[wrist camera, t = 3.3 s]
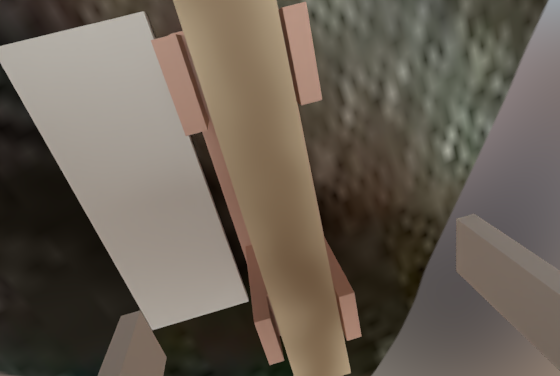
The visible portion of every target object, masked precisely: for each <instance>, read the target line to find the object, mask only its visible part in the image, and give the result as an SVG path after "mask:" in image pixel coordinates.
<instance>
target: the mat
mask: <svg viewBox="0 0 560 376" xmlns="http://www.w3.org/2000/svg"><path fill="white" fill-rule="evenodd" d="M154 39H155V36H154V34H153V31H152V28H151V25H150V22H149V20H148V17H147V14H146V12H144V11H143V12H139V13H135V14H131V15H126V16H122V17H118V18H114V19H110V20H106V21H102V22H98V23H94V24H89V25H85V26H81V27H77V28H73V29H69V30H65V31H61V32H56V33H52V34H48V35H44V36H40V37H36V38H32V39H28V40H24V41H19V42H15V43H11V44H7V45H3V46H0V63H1V65H2V67H3V68H4V70H5V72H6V74H7V75H8V77H9V79H10V81H11V83H12V84H13V86H14V88H15V90H16V91H17V93H18V95H19V97H20V98H21V100H22V102H23V104H24V105H25V107H26V109H27V111H28V112H29V114H30V116H31V118H32V119H33V121H34V123H35V125H36V126H37V128H38V130H39V132H40V133H41V135H42V137H43V139H44V141H45V142H46V144H47V146H48V148H49V149H50V151H51V153H52V155H53V156H54V158H55V160H56V162H57V163H58V165H59V167H60V169H61V170H62V172H63V174H64V176H65V177H66V179H67V181H68V183H69V184H70V186H71V188H72V190H73V192H74V193H75V195H76V197H77V199H78V200H79V202H80V204H81V206H82V207H83V209H84V211H85V213H86V214H87V216H88V218H89V220H90V221H91V223H92V225H93V227H94V228H95V230H96V232H97V234H98V235H99V237H100V239H101V241H102V242H103V244H104V246H105V248H106V250H107V251H108V253H109V255H110V257H111V258H112V260H113V262H114V264H115V265H116V267H117V269H118V271H119V272H120V274H121V276H122V278H123V279H124V281H125V283H126V285H127V286H128V288H129V290H130V292H131V293H132V295H133V297H134V299H135V300H136V302H137V304H138V306H139V308H140V309H141V311H142V313H143V315H144V316H145V318H146V320H147V322H148V323H149V325H150V327H151V329H152V330H155V329H158V328H161V327H165V326H168V325H171V324H175V323H178V322H181V321H185V320H188V319H192V318H195V317H198V316H202V315H205V314H208V313H212V312H215V311H218V310H222V309H225V308H228V307H232V306H235V305H238V304H242V303H245V302H248V301H249V299H248V295H247V292H246V289H245V286H244V284H243V281H242V278H241V275H240V273H239V270H238V267H237V264H236V261H235V259H234V256H233V253H232V250H231V248H230V245H229V242H228V239H227V236H226V234H225V231H224V228H223V225H222V223H221V220H220V217H219V214H218V211H217V209H216V206H215V203H214V200H213V198H212V195H211V192H210V189H209V186H208V184H207V181H206V178H205V175H204V173H203V170H202V167H201V164H200V161H199V159H198V156H197V153H196V150H195V147H194V145H193V142H192V139H191V136H190V135H188V136H186V135H185V133H184V130H183V127H182V124H181V122H180V119H179V116H178V114H177V111H176V108H175V105H174V103H173V100H172V97H171V94H170V92H169V89H168V86H167V83H166V81H165V78H164V75H163V73H162V70H161V67H160V64H159V62H158V59H157V56H156V53H155V51H154V48H153V45H152V43H151V40H154Z"/></svg>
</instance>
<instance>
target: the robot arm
mask: <svg viewBox="0 0 560 376" xmlns="http://www.w3.org/2000/svg"><path fill="white" fill-rule="evenodd" d="M456 220H457V221H456V271H457V272H458V273H459V274H460V275H461V276H462V277H463V278H464V279H465V280H466V281H467V282H468V283H469V284H470V285H471V286H472V287H473V288H474V289H475V290H476V291H477V292H478V293H480V294H481V295H482V296H483V297H484V298H485V299H486V300H487V301H488V302H489V303H490V304H491V305H492V306H493V307H494V308H495V309H496V310H497V311H498V312H499V313H500V314H501V315H502V316H503V317H504V318H505V319H506V320H508V321H509V322H510V323H511V324H512V325H513V326H514V327H515V328H516V329H517V330H518V331H519V332H520V333H521V334H522V335H523V336H524V337H525V338H526V339H527V340H528V341H529V342H530V343H531V344H532V345H534V346H535V347H536V348H537V349H538V350H539V351H540V352H541V353H542V354H543V355H544V356H545V357H546V358H547V359H548V360H549V361H550V362H551V363H552V364H553V365H554V366H555V367H557V369H558V370H560V271H559V270H558V269H556V268H555V267H553V266H552V265H550V264H549V263H547V262H546V261H544V260H543V259H541V258H540V257H538V256H537V255H535V254H534V253H532V252H531V251H529V250H527V249H526V248H525V247H523V246H522V245H520V244H519V243H517V242H516V241H514V240H513V239H511V238H510V237H508V236H507V235H505V234H504V233H502V232H501V231H499V230H498V229H496V228H495V227H493V226H492V225H490V224H489V223H487V222H486V221H484V220H483V219H481V218H480V217H478V216H477V215H475V214H471V215H468V216H465V217H461V218H457V219H456ZM166 358H167V357H166V355H165V354H164V352H163V350H162V348H161V346H160V345H159V343H158V341H157V339H156V338H155V336H154V334H153V332H152V330H151V329H150V327H149V325H148V323H147V321H146V320H145V318H144V316H143V314H142V312H141V311H137V312H133V313H130V314H126V315H123V316H121V317H120V320H119V322H118V325H117V327H116V330H115V333H114V335H113V338H112V340H111V343H110V345H109V348H108V351H107V353H106V356H105V358H104V361H103V363H102V366H101V369H100V371H99V374H98V376H163V374H164V368H165V363H166Z"/></svg>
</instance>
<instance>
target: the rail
mask: <svg viewBox="0 0 560 376" xmlns="http://www.w3.org/2000/svg"><path fill="white" fill-rule="evenodd" d="M173 2H174V5H175V8H176V11H177V14H178V17H179V20H180V23H181V26H182V30H183V33H184V36H185V39H186V42H187V45H188V48H189V51H190V54H191V57H192V61H193V64H194V67H195V70H196V73H197V76H198V79H199V82H200V85H201V88H202V92H203V95H204V98H205V101H206V104H207V107H208V110H209V113H210V116H211V119H212V123H213V126H214V129H215V132H216V135H217V138H218V141H219V144H220V147H221V151H222V154H223V157H224V160H225V163H226V166H227V169H228V172H229V175H230V178H231V182H232V185H233V188H234V191H235V194H236V197H237V200H238V203H239V206H240V209H241V213H242V216H243V219H244V222H245V225H246V228H247V231H248V234H249V237H250V240H251V244H252V247H253V250H254V253H255V256H256V259H257V262H258V265H259V268H260V271H261V275H262V278H263V281H264V284H265V287H266V290H267V293H268V296H269V299H270V302H271V306H272V309H273V312H274V315H275V318H276V321H277V324H278V327H279V330H280V333H281V337H282V340H283V343H284V346H285V349H286V352H287V355H288V358H289V361H290V364H291V368H292V371H293V374H294V376H343V375H346V374H349V373H351V371H350V366H349V361H348V356H347V351H346V346H345V341H344V336H343V331H342V326H341V321H340V316H339V311H338V306H337V301H336V296H335V291H334V286H333V281H332V276H331V271H330V266H329V261H328V256H327V251H326V246H325V241H324V236H323V231H322V226H321V221H320V216H319V211H318V206H317V201H316V196H315V191H314V186H313V181H312V176H311V171H310V166H309V161H308V156H307V151H306V146H305V141H304V136H303V131H302V126H301V121H300V116H299V111H298V106H297V101H296V96H295V91H294V86H293V81H292V76H291V71H290V66H289V61H288V56H287V51H286V46H285V41H284V36H283V31H282V26H281V21H280V16H279V11H278V6H277V1H276V0H173Z"/></svg>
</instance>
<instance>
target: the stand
mask: <svg viewBox="0 0 560 376" xmlns="http://www.w3.org/2000/svg"><path fill="white" fill-rule="evenodd" d="M278 11H279V16H280V21H281V26H282V31H283V36H284V41H285V46H286V51H287V56H288V61H289V66H290V71H291V76H292V81H293V86H294V91H295V96H296V101H297V102H298V103H299V104H300V105H304V104H308V103H312V102H316V101H319V100H322V95H321V89H320V83H319V77H318V71H317V65H316V58H315V52H314V46H313V40H312V34H311V28H310V22H309V16H308V10H307V4H306V2H303V3H299V4H295V5H291V6H286V7H282V8H281V9H278ZM151 43H152V45H153V48H154V51H155V53H156V56H157V59H158V62H159V64H160V67H161V70H162V73H163V75H164V78H165V81H166V83H167V86H168V89H169V92H170V94H171V97H172V100H173V103H174V105H175V108H176V111H177V114H178V116H179V119H180V122H181V124H182V127H183V130H184V133H185V135H186V136H188V135H192V134H196V133H199V132H202V133H203V136H204V139H205V142H206V145H207V148H208V150H209V153H210V156H211V159H212V162H213V165H214V168H215V171H216V174H217V177H218V180H219V183H220V186H221V189H222V192H223V194H224V197H225V200H226V203H227V206H228V209H229V212H230V215H231V218H232V221H233V224H234V227H235V230H236V233H237V235H238V238H239V241H240V244H241V247H242V250H243V253H244V256H245V259H246V262H247V267H248V275H249V283H250V292H251V300H252V309H253V317H254V324H255V326H256V329H257V332H258V335H259V337H260V340H261V343H262V346H263V348H264V351H265V354H266V356H267V359H268V362H269V365H271V364H275V363H278V362H281V361H284V357H283V352H282V347H281V342H280V337H279V336H281V333H280V330H279V327H278V324H277V321H276V318H275V315H274V312H273V309H272V306H271V302H270V299H269V296H268V293H267V290H266V287H265V284H264V281H263V278H262V275H261V271H260V268H259V265H258V262H257V259H256V256H255V253H254V250H253V247H252V244H251V240H250V237H249V234H248V231H247V228H246V225H245V222H244V219H243V216H242V213H241V209H240V206H239V203H238V200H237V197H236V194H235V191H234V188H233V185H232V182H231V178H230V175H229V172H228V169H227V166H226V163H225V160H224V157H223V154H222V151H221V147H220V144H219V141H218V138H217V135H216V132H215V129H214V126H213V123H212V119H211V116H210V113H209V110H208V107H207V104H206V101H205V98H204V95H203V92H202V88H201V85H200V82H199V79H198V76H197V73H196V70H195V67H194V64H193V61H192V57H191V54H190V51H189V48H188V45H187V42H186V39H185V36H184V33H183V31H180V32H176V33H172V34H169V36H166V37H162V38H158V39H154V40H151ZM297 106H298V104H297ZM298 111H299V109H298ZM299 116H300V114H299ZM300 121H301V119H300ZM301 126H302V124H301ZM302 131H303V129H302ZM303 136H304V134H303ZM304 141H305V139H304ZM305 146H306V144H305ZM306 151H307V149H306ZM307 156H308V154H307ZM308 161H309V159H308ZM309 166H310V164H309ZM310 171H311V169H310ZM311 176H312V174H311ZM312 181H313V179H312ZM313 186H314V184H313ZM314 191H315V189H314ZM315 196H316V194H315ZM316 201H317V199H316ZM317 206H318V204H317ZM318 211H319V209H318ZM319 216H320V214H319ZM320 221H321V219H320ZM321 226H322V224H321ZM322 231H323V229H322ZM323 236H324V234H323ZM324 241H325V246H326V251H327V256H328V261H329V266H330V271H331V276H332V281H333V286H334V291H335V296H336V301H337V306H338V311H339V316H340V321H341V326H342V330H343V332H344V334H345V337H346V339H347V341H348V340H352V339H355V338H358V337H361V331H360V324H359V318H358V312H357V306H356V300H355V294H354V291H353V289H352V287H351V286H350V284H349V282H348V280H347V278H346V276H345V274H344V273H343V271H342V269H341V267H340V265H339V263H338V261H337V260H336V258H335V256H334V254H333V252H332V250H331V248H330V246H329V245H328V243H327V241H326V239H325V237H324Z"/></svg>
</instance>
